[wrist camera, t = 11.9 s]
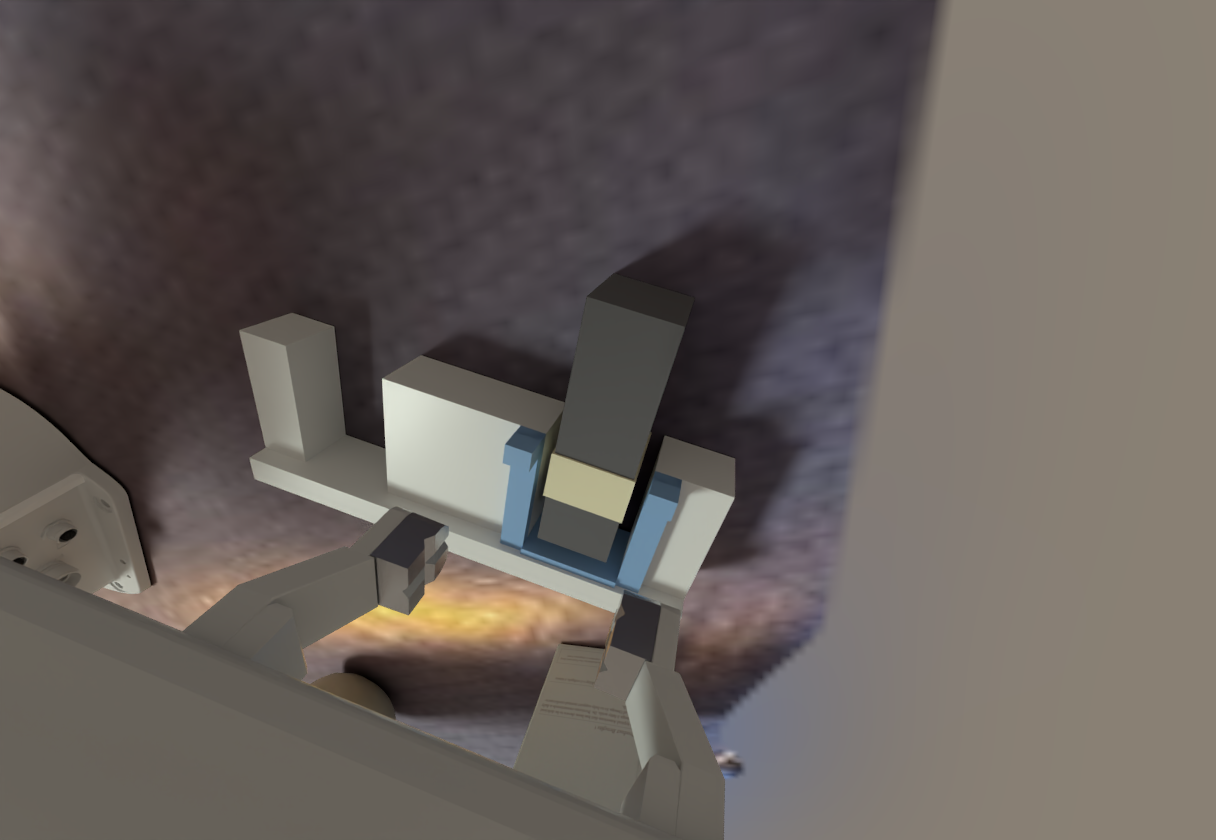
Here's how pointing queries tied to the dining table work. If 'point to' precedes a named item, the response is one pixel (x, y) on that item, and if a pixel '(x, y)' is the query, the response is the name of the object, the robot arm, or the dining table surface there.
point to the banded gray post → (610, 410)
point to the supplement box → (580, 733)
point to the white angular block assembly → (471, 467)
